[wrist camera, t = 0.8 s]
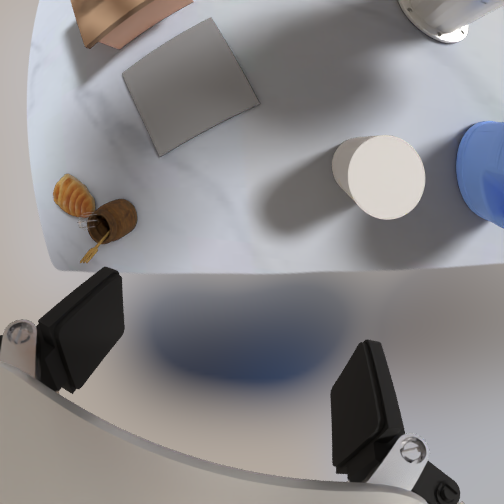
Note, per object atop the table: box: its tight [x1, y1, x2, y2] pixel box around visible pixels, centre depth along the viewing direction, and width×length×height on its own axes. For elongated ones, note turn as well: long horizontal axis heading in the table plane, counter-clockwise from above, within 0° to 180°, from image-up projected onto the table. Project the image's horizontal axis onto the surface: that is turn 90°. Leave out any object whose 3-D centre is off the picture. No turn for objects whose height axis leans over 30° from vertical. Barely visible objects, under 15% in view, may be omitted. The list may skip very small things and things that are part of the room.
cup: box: [332, 135, 425, 220], centre depth 29 cm, size 8×8×12 cm
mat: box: [122, 18, 260, 157], centre depth 33 cm, size 16×16×1 cm
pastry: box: [53, 174, 95, 218], centre depth 41 cm, size 9×7×4 cm
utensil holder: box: [77, 199, 137, 263], centre depth 37 cm, size 6×6×12 cm
